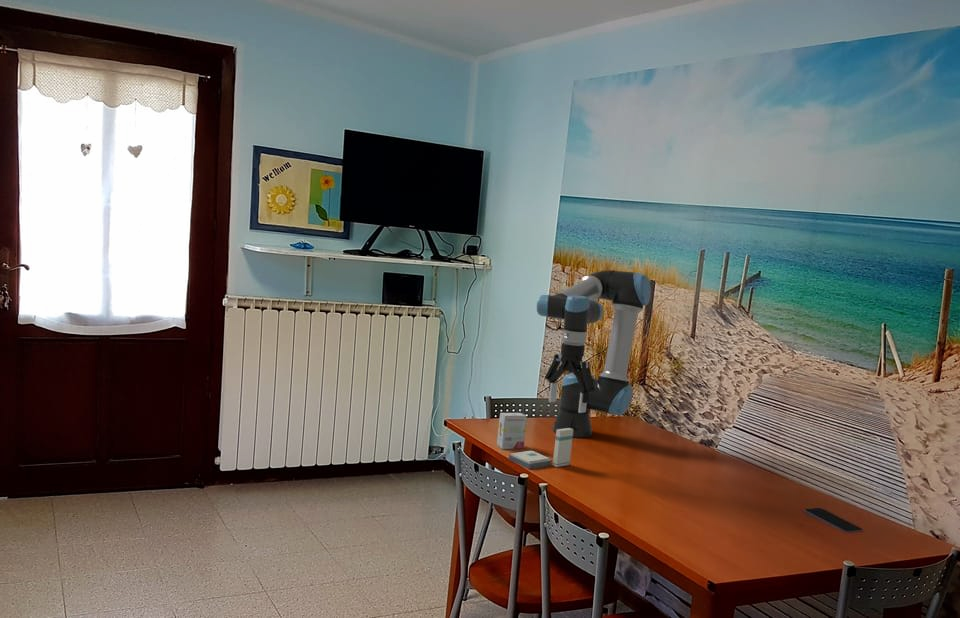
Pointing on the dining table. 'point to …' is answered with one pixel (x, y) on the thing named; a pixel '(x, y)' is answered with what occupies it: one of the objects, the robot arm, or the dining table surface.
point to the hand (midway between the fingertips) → (566, 407)
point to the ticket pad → (530, 459)
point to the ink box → (511, 430)
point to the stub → (562, 447)
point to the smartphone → (832, 520)
